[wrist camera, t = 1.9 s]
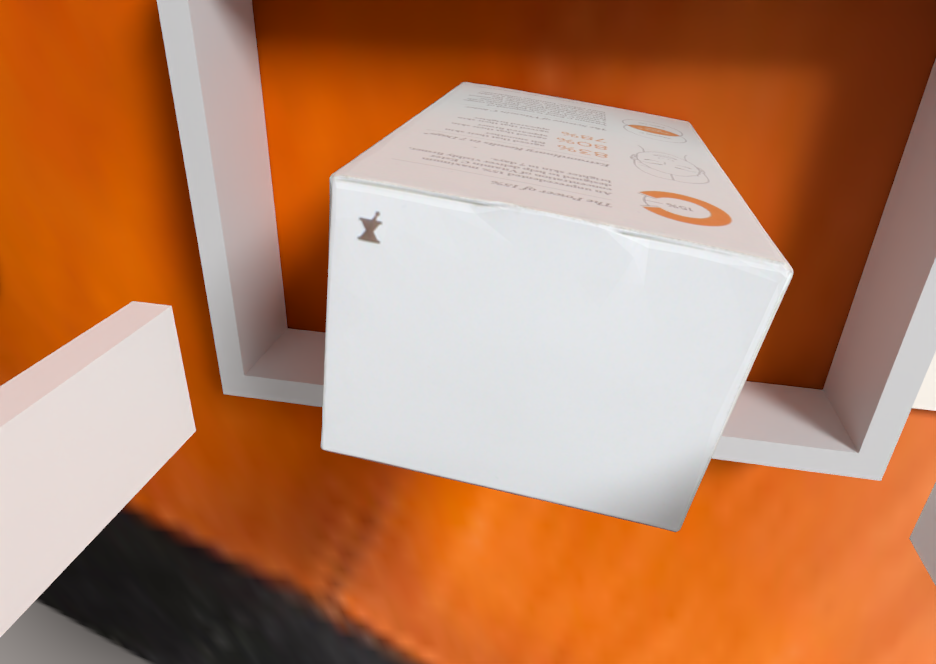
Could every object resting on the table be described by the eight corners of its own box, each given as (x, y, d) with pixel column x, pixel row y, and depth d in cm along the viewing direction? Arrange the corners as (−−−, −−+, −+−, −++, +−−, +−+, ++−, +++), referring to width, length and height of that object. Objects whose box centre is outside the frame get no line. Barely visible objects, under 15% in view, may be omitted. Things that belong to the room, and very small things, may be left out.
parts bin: (268, 345, 29) (223, 394, 26) (215, -78, 22) (141, -92, 18) (842, 414, 26) (881, 480, 22) (1014, -59, 18) (1113, -71, 15)
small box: (438, 248, 26) (309, 454, 14) (460, 77, 22) (319, 164, 11) (644, 290, 25) (684, 543, 13) (696, 120, 22) (805, 260, 10)
